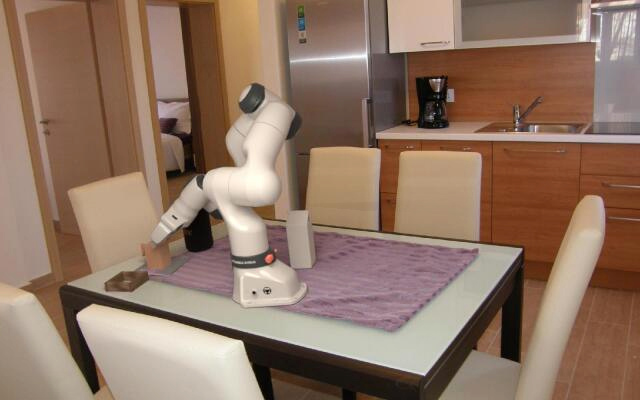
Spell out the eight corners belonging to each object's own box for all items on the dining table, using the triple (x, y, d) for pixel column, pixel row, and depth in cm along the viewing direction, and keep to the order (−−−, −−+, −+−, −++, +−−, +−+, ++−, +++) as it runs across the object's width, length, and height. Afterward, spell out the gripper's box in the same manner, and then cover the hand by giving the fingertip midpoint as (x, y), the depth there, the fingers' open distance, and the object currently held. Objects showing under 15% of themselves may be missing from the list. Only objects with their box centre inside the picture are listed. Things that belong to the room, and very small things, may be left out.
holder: (149, 279, 196) (147, 271, 195) (132, 291, 186) (131, 283, 185) (123, 279, 198) (121, 271, 197) (106, 291, 189) (104, 283, 188)
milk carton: (311, 268, 190) (305, 213, 185) (290, 269, 192) (284, 214, 187) (316, 260, 197) (310, 207, 192) (296, 261, 198) (289, 208, 194)
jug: (171, 263, 208) (167, 239, 206) (163, 269, 203) (158, 245, 200) (149, 263, 211) (145, 239, 208) (140, 269, 205) (136, 245, 203)
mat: (190, 259, 212) (190, 258, 212) (169, 276, 197) (169, 275, 197) (152, 259, 216) (151, 258, 216) (128, 276, 201) (127, 274, 201)
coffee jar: (185, 246, 227) (177, 202, 222) (212, 241, 230) (205, 197, 225) (187, 254, 217) (179, 208, 212) (215, 249, 220) (208, 203, 215)
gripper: (187, 200, 208) (167, 227, 213) (159, 217, 189) (138, 245, 194) (201, 212, 208) (180, 238, 213) (174, 229, 189) (152, 258, 193)
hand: (160, 242), depth 203 cm, fingers open, 8 cm apart
